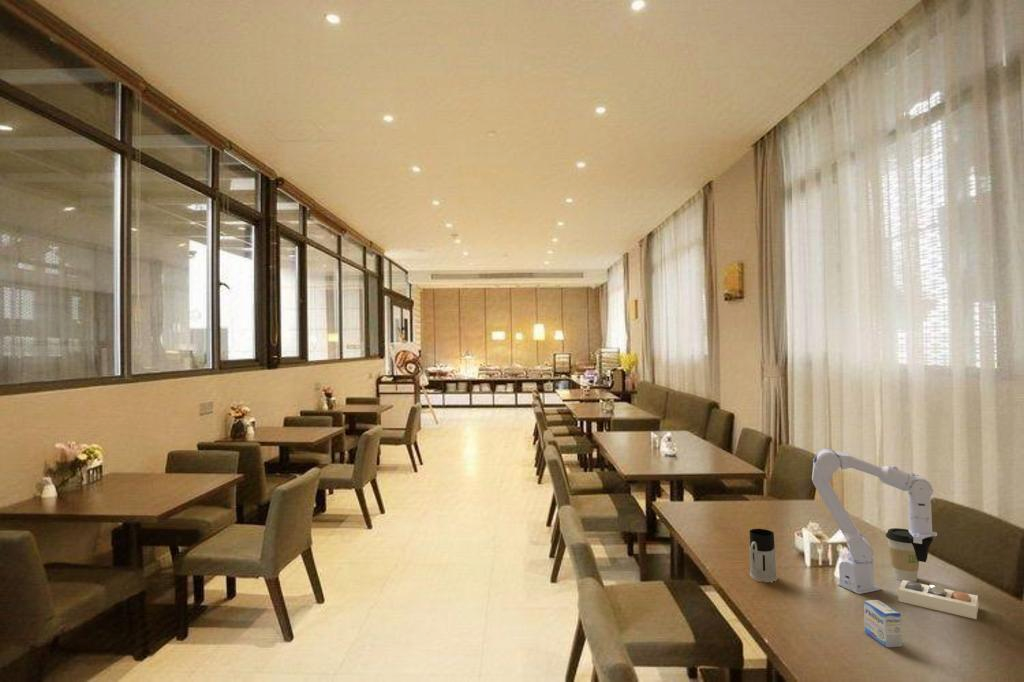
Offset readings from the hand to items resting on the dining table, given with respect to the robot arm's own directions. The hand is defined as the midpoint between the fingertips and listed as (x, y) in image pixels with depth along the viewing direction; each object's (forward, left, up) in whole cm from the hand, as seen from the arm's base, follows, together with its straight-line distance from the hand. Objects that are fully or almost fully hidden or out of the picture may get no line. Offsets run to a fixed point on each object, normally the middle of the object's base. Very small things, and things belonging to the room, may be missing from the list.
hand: (921, 560), depth 172 cm
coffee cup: (+7, +11, -11) cm, 17 cm away
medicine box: (-35, -15, -11) cm, 40 cm away
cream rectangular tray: (-2, -6, -10) cm, 12 cm away
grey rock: (-2, -6, -8) cm, 10 cm away
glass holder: (-37, +27, -11) cm, 47 cm away
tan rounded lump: (+1, -11, -9) cm, 14 cm away
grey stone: (-5, -1, -9) cm, 10 cm away
